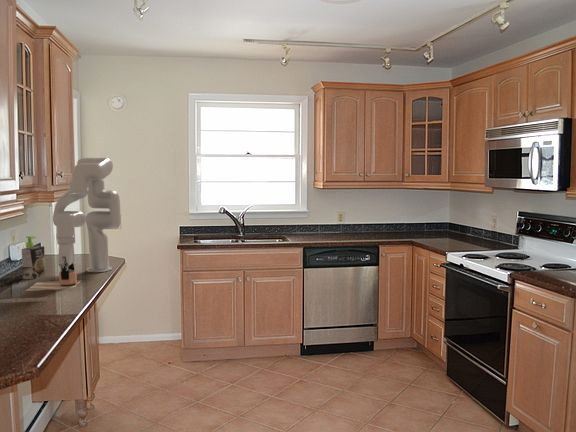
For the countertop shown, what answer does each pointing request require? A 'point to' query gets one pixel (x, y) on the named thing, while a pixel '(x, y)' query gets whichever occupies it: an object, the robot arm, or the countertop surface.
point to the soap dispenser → (29, 241)
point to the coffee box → (33, 262)
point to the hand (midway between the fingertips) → (68, 277)
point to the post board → (52, 285)
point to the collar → (71, 279)
